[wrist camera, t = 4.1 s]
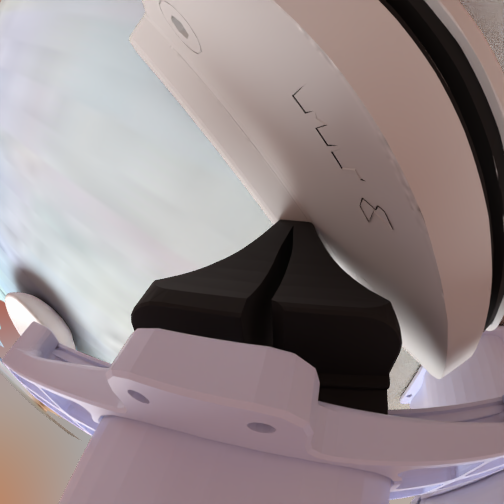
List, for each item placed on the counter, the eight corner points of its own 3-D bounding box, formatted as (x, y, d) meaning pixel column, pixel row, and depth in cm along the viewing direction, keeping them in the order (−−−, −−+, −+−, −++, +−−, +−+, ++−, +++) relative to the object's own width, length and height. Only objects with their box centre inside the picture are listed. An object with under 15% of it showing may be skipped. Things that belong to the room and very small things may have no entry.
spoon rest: (12, 284, 26) (-21, 318, 21) (40, 268, 22) (-6, 315, 16) (113, 399, 37) (94, 434, 31) (165, 410, 32) (145, 454, 26)
